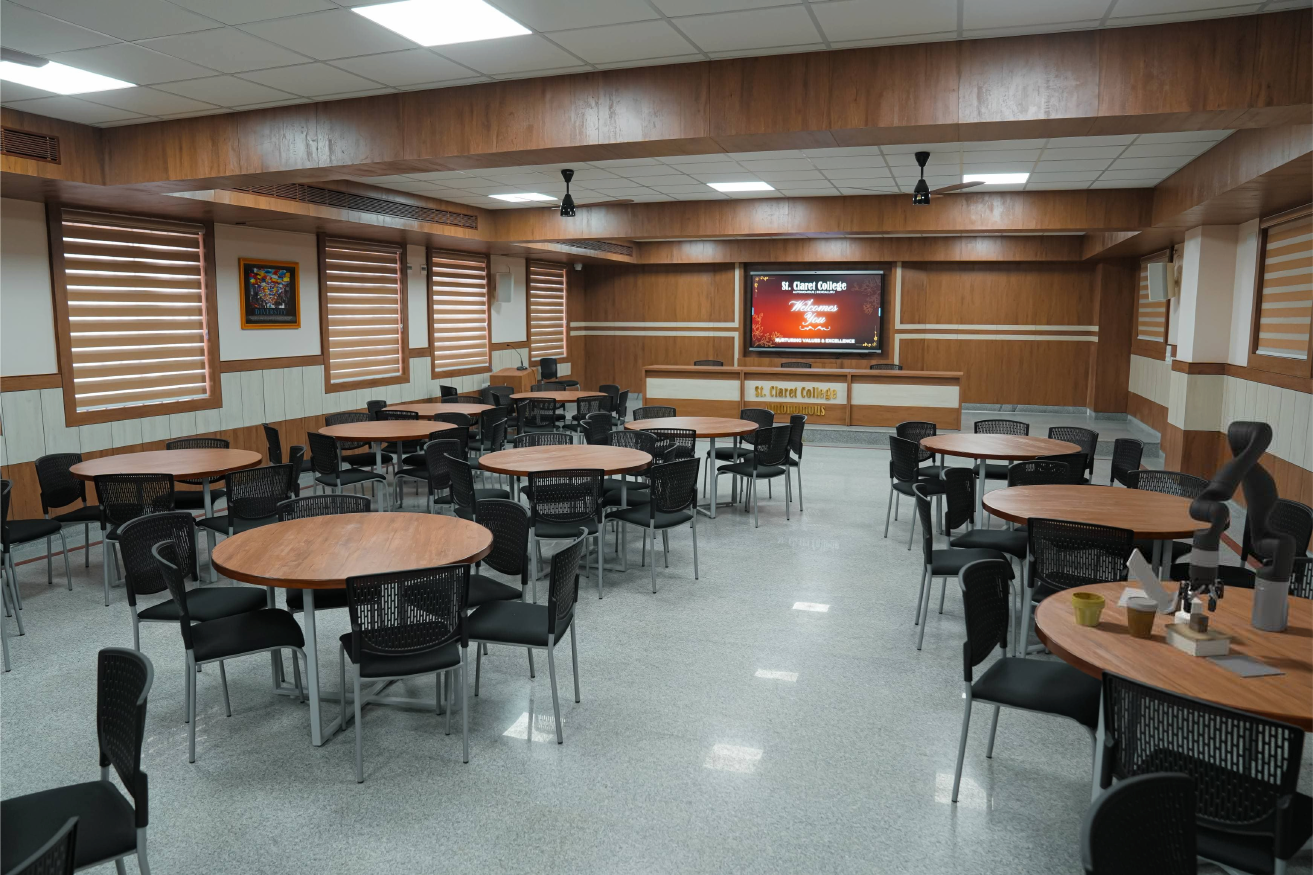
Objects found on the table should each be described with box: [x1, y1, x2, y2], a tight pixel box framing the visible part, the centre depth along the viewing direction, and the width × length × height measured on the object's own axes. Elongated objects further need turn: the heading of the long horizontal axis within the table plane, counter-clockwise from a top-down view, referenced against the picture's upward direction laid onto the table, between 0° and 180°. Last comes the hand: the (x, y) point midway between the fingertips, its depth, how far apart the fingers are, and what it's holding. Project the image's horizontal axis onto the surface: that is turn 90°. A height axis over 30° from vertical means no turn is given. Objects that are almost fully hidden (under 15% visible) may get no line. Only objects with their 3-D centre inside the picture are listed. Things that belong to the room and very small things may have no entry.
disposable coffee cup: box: [1126, 596, 1159, 640], centre depth 282 cm, size 10×10×12 cm
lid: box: [1164, 612, 1234, 642], centre depth 270 cm, size 13×13×6 cm
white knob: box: [1174, 595, 1204, 623], centre depth 283 cm, size 9×9×12 cm
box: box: [1165, 628, 1231, 658], centre depth 271 cm, size 12×12×5 cm
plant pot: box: [1070, 591, 1106, 627], centre depth 293 cm, size 10×10×10 cm
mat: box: [1205, 654, 1285, 678], centre depth 257 cm, size 14×14×1 cm
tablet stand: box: [1116, 548, 1179, 615], centre depth 314 cm, size 18×25×17 cm
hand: (1199, 612), depth 270 cm, fingers open, 8 cm apart
